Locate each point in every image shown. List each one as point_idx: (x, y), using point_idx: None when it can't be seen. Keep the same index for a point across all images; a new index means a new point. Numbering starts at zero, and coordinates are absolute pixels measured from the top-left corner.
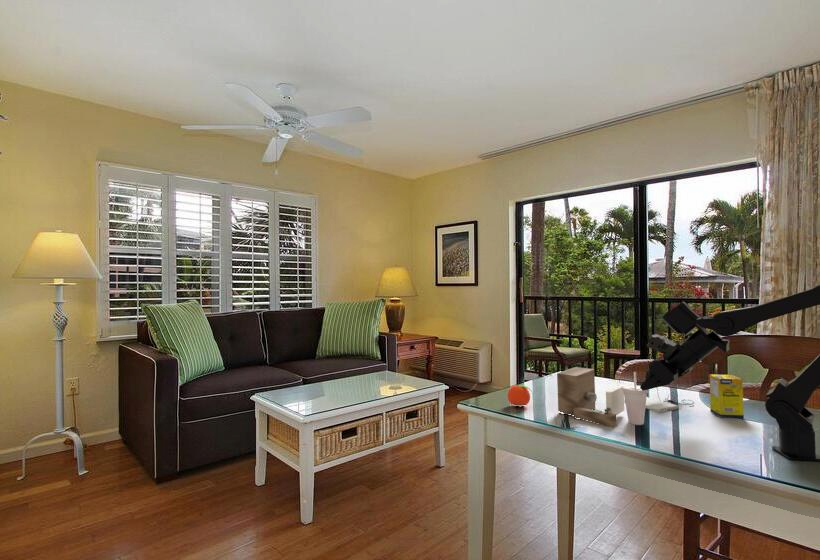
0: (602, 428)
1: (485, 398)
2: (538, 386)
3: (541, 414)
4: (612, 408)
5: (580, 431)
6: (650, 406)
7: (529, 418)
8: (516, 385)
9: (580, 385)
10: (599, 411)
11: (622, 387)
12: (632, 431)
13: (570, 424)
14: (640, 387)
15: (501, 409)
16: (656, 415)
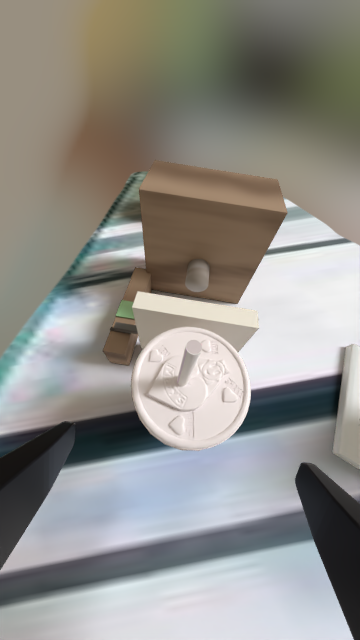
0: (91, 341)
1: None
2: (302, 211)
3: (138, 241)
4: (142, 337)
5: (53, 308)
6: (346, 420)
7: (105, 233)
8: None
9: (166, 229)
10: (126, 314)
11: (171, 329)
12: (93, 411)
13: (96, 286)
14: (62, 424)
15: (136, 201)
16: (291, 450)
